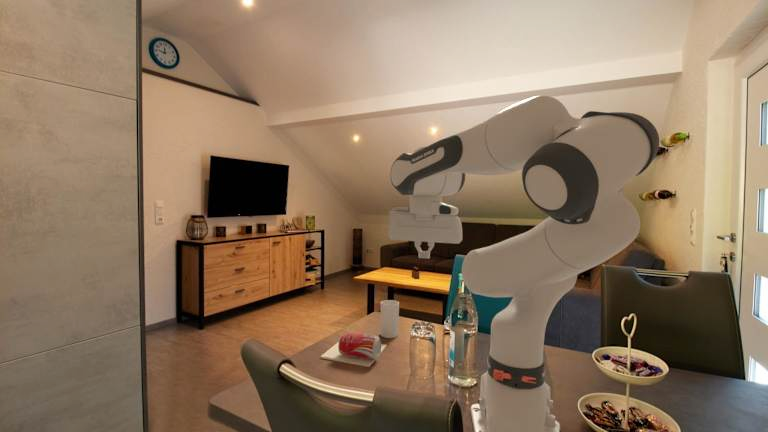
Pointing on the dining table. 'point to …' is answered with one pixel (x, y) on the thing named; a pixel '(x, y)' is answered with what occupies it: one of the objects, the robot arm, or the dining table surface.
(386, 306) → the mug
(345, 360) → the mat
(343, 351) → the soda can
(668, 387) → the dining table surface
